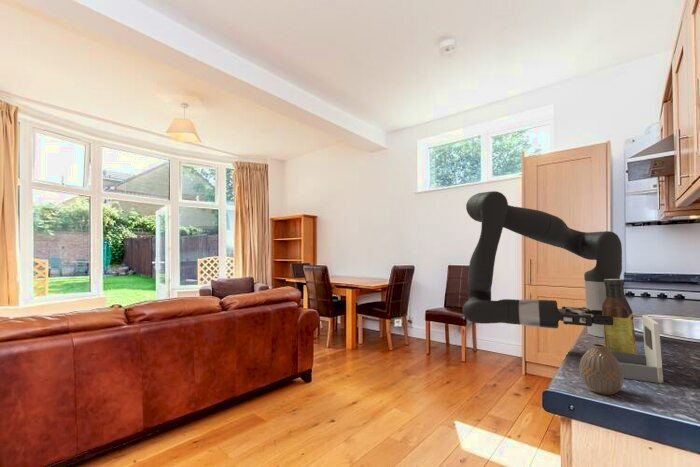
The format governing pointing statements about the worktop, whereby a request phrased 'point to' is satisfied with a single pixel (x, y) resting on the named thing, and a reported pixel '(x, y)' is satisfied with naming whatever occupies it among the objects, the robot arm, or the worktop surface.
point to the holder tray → (644, 356)
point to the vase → (601, 370)
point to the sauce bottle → (618, 318)
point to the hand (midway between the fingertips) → (610, 317)
